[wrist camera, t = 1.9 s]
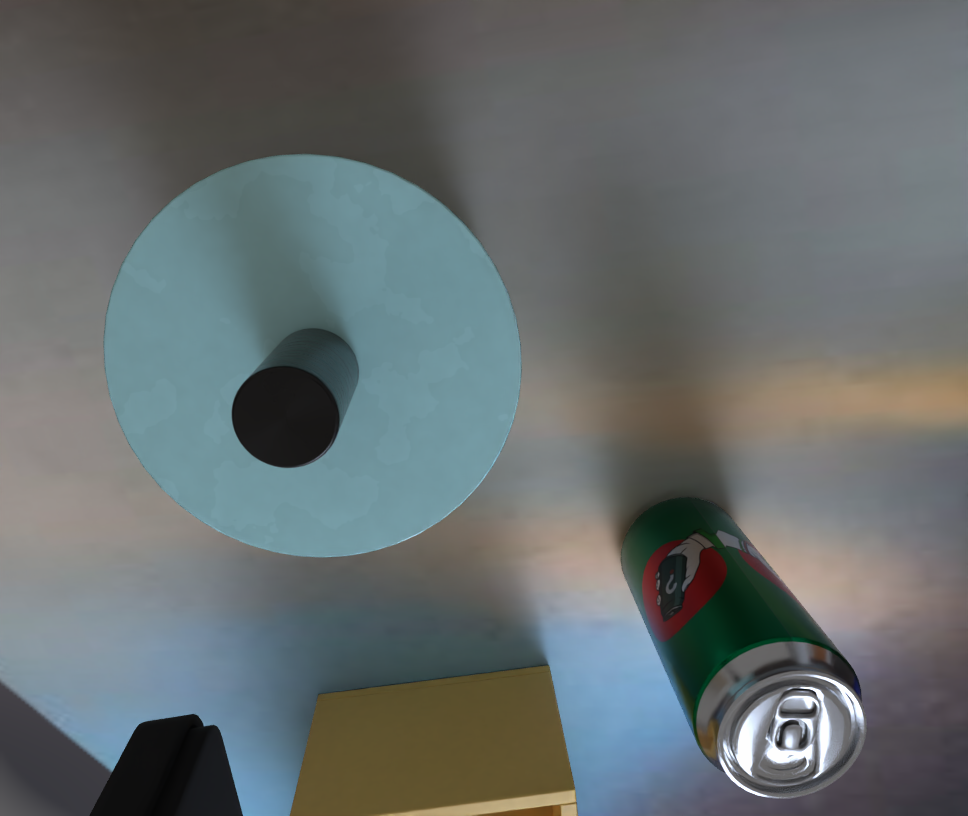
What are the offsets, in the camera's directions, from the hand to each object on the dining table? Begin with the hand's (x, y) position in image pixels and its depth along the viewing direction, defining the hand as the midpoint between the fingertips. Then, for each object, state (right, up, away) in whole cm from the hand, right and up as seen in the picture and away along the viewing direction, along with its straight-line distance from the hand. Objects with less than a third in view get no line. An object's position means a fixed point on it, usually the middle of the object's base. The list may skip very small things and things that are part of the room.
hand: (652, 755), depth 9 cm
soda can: (+6, -2, +26) cm, 27 cm away
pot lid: (-6, +5, +14) cm, 16 cm away
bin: (-3, -13, +28) cm, 31 cm away
